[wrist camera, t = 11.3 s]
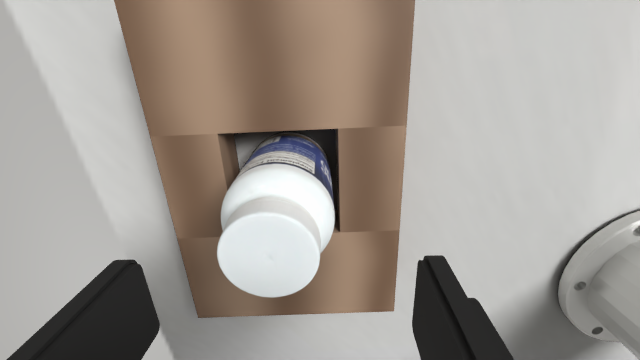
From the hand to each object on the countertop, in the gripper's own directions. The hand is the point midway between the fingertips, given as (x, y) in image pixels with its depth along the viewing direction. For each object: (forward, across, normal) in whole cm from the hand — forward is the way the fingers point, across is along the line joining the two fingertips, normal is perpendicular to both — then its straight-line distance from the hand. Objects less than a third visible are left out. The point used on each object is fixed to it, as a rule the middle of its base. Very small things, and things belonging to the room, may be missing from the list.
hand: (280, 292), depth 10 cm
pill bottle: (+12, +1, 0) cm, 12 cm away
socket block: (+11, +1, 0) cm, 11 cm away
